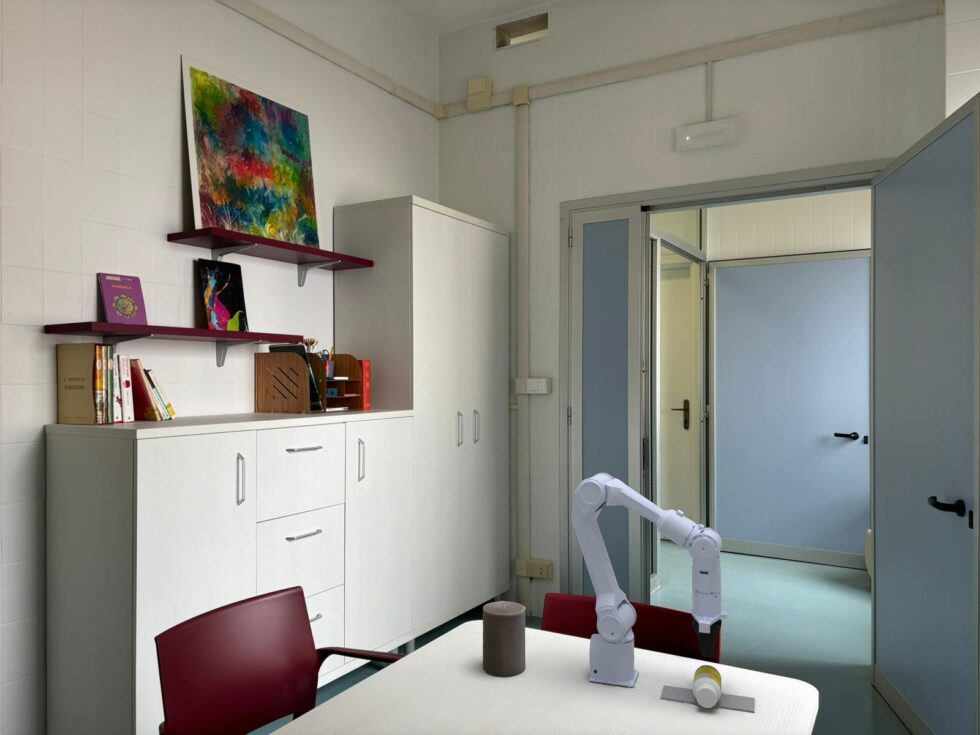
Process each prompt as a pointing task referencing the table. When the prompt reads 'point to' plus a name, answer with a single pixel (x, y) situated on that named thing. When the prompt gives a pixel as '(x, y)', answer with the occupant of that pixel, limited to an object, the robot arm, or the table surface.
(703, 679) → the supplement bottle
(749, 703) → the mat
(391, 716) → the table surface
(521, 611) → the pillar candle
